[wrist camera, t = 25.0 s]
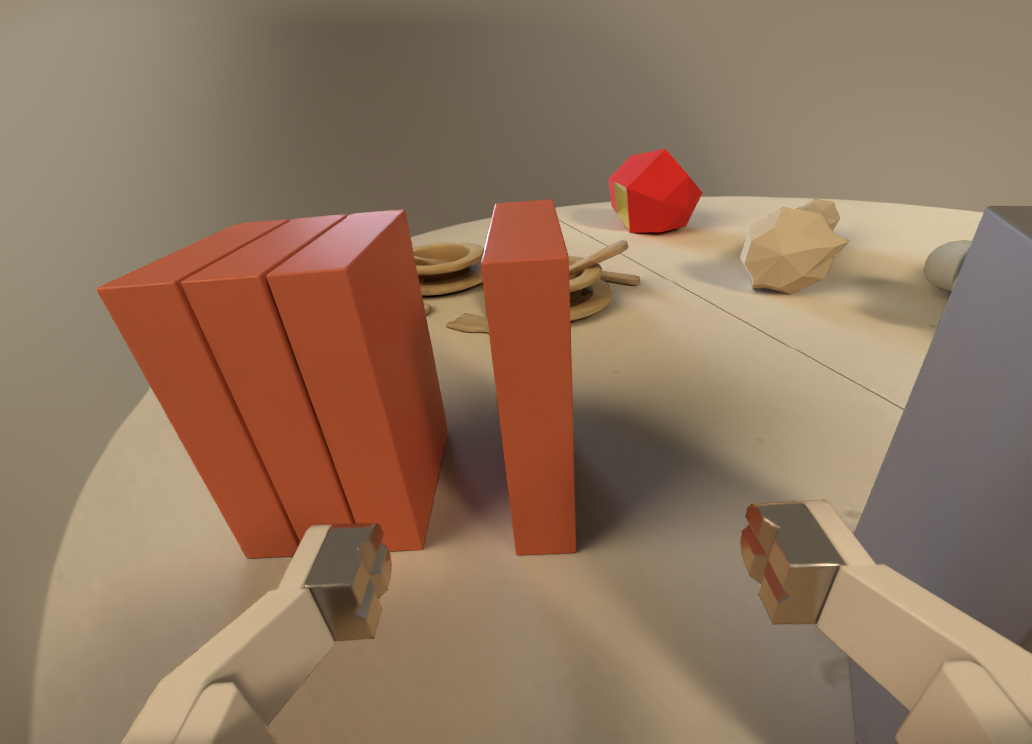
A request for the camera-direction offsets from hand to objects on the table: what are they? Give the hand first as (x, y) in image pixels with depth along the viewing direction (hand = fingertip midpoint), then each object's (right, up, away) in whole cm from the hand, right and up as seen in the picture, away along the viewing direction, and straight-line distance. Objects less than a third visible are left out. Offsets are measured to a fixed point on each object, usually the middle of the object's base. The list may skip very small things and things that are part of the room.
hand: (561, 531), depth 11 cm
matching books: (-10, -3, +18) cm, 21 cm away
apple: (+20, +26, +63) cm, 71 cm away
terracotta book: (+1, -3, +17) cm, 18 cm away
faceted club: (+32, +16, +44) cm, 57 cm away
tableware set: (-4, +13, +45) cm, 47 cm away
